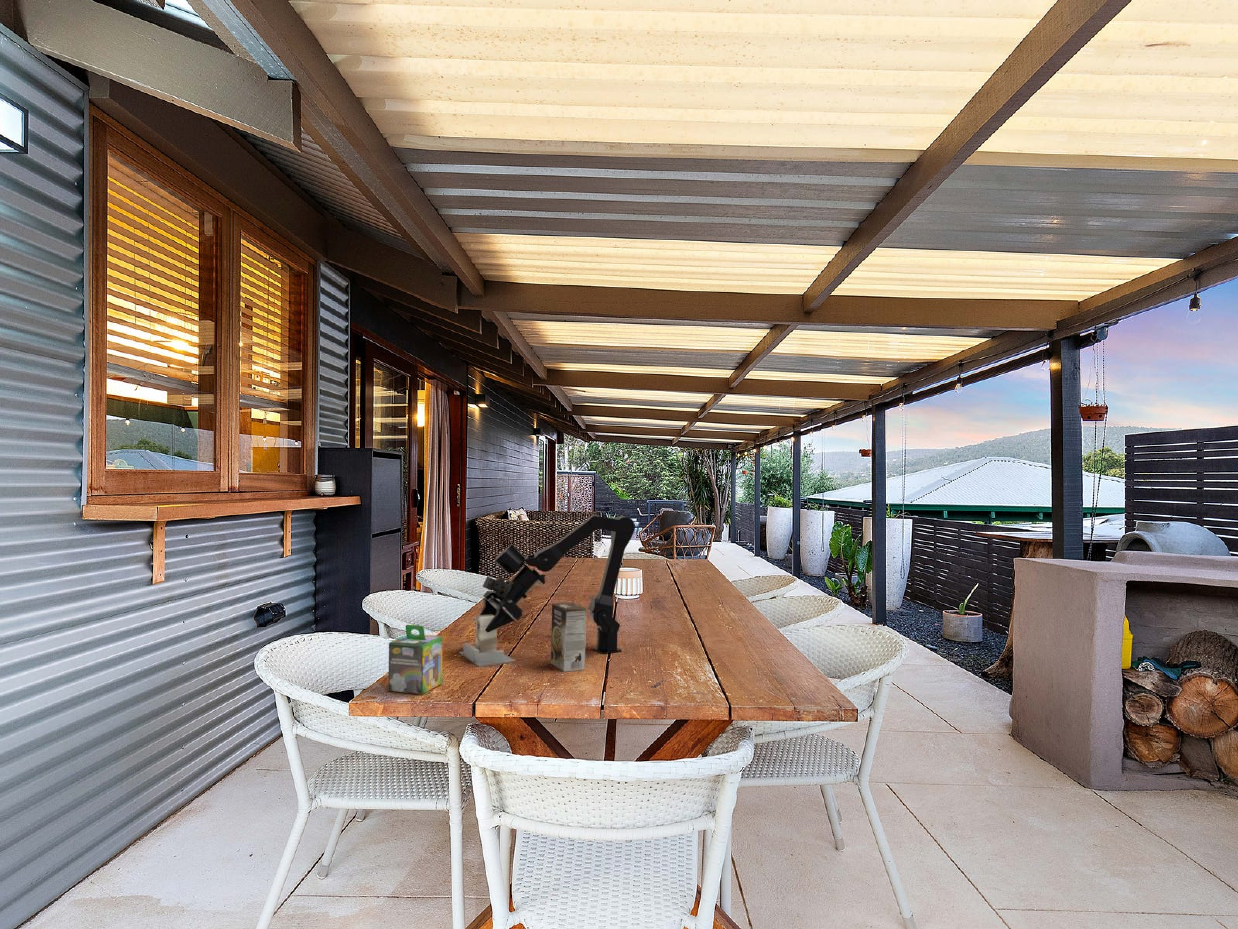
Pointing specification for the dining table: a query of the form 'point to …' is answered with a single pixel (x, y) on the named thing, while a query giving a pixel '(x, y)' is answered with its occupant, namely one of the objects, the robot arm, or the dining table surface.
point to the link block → (485, 634)
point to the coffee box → (568, 636)
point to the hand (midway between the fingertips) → (481, 628)
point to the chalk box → (415, 662)
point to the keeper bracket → (485, 656)
